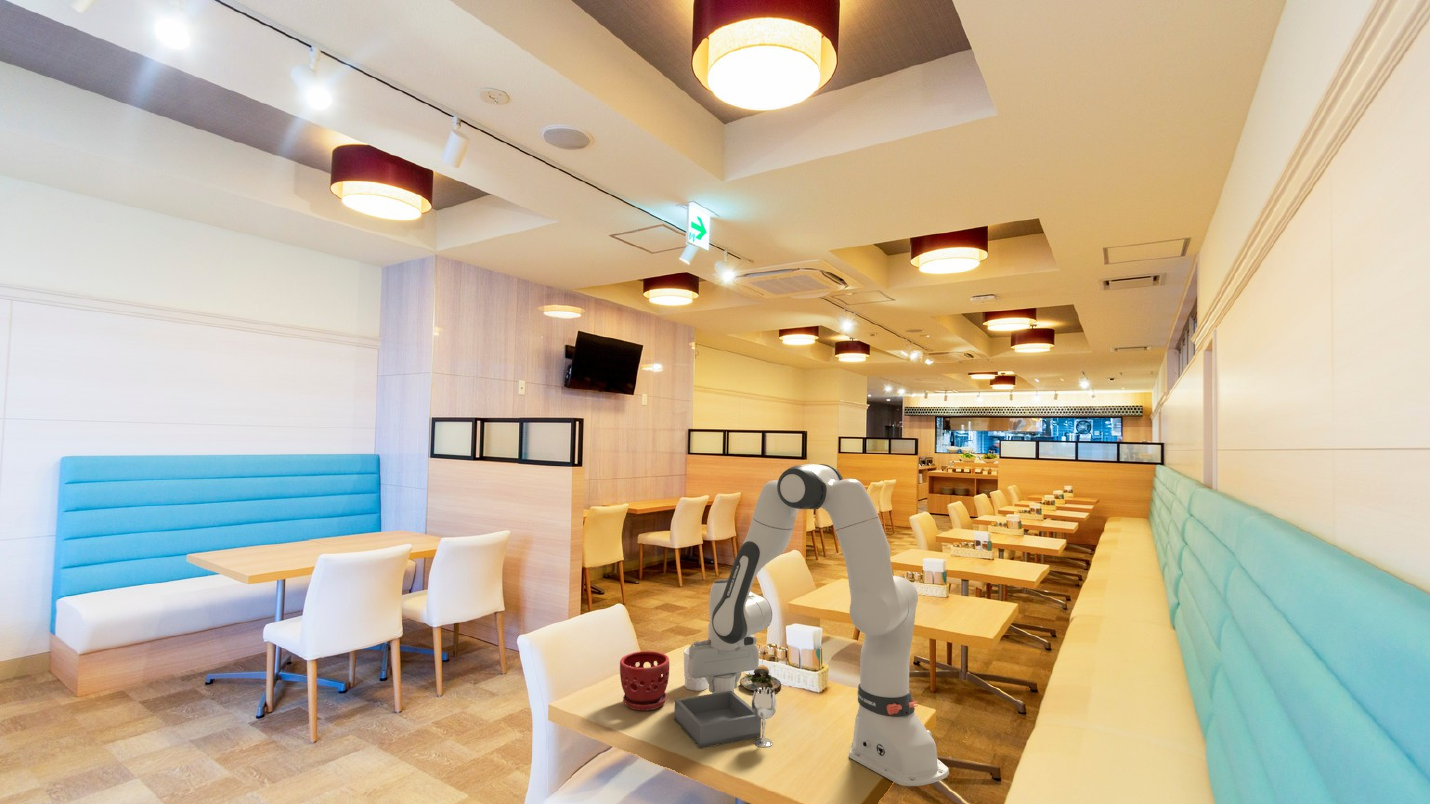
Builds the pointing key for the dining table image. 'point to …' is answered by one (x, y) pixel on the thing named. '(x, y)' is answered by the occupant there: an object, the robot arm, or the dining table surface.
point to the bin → (716, 719)
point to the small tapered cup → (724, 682)
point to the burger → (760, 679)
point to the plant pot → (644, 680)
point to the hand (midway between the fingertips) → (723, 689)
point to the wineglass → (763, 710)
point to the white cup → (690, 682)
